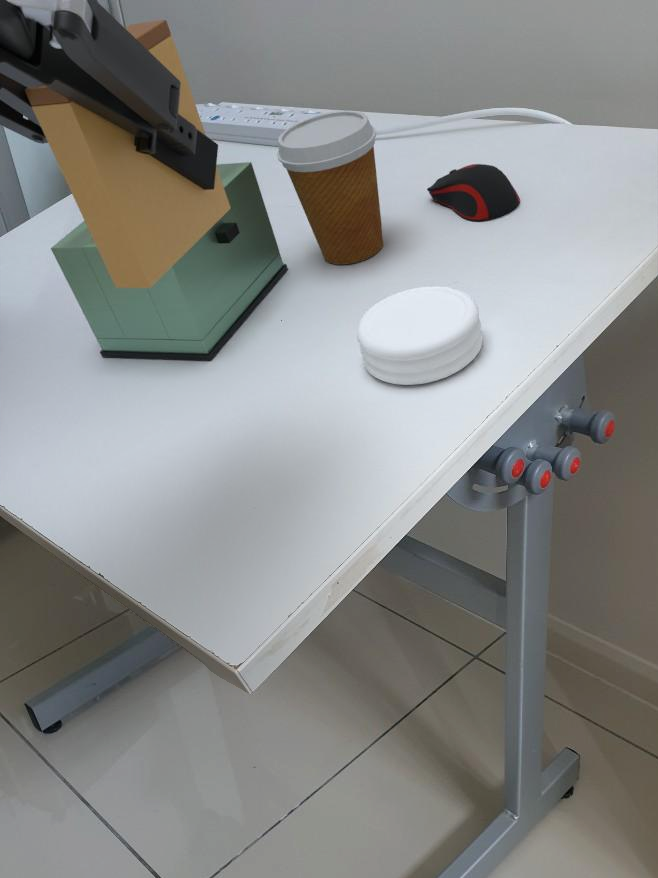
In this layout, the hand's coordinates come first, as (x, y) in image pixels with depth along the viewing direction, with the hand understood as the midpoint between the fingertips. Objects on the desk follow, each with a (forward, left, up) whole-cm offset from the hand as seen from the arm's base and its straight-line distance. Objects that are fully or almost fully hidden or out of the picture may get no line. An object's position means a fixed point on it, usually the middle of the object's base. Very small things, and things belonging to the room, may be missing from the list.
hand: (189, 168), depth 54 cm
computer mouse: (+4, +39, -21) cm, 44 cm away
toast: (0, -4, -3) cm, 5 cm away
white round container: (+8, +11, -21) cm, 25 cm away
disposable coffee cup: (-6, +29, -21) cm, 36 cm away
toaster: (-18, +17, -21) cm, 32 cm away
